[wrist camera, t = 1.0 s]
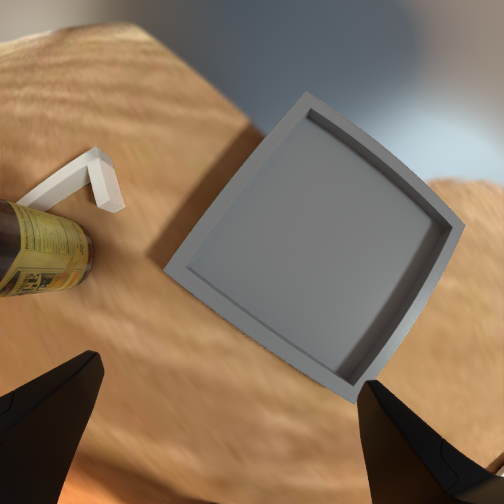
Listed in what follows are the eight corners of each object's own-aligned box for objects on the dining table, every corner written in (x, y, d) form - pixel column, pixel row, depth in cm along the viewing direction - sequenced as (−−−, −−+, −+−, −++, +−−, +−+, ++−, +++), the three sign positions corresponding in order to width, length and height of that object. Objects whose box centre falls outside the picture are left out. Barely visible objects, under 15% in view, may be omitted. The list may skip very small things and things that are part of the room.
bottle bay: (125, 207, 23) (109, 200, 20) (26, 266, 22) (7, 266, 19) (111, 157, 23) (95, 146, 20) (17, 221, 23) (-2, 217, 20)
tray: (344, 392, 22) (353, 404, 19) (172, 269, 22) (162, 270, 20) (449, 228, 23) (465, 225, 20) (301, 106, 23) (305, 91, 21)
